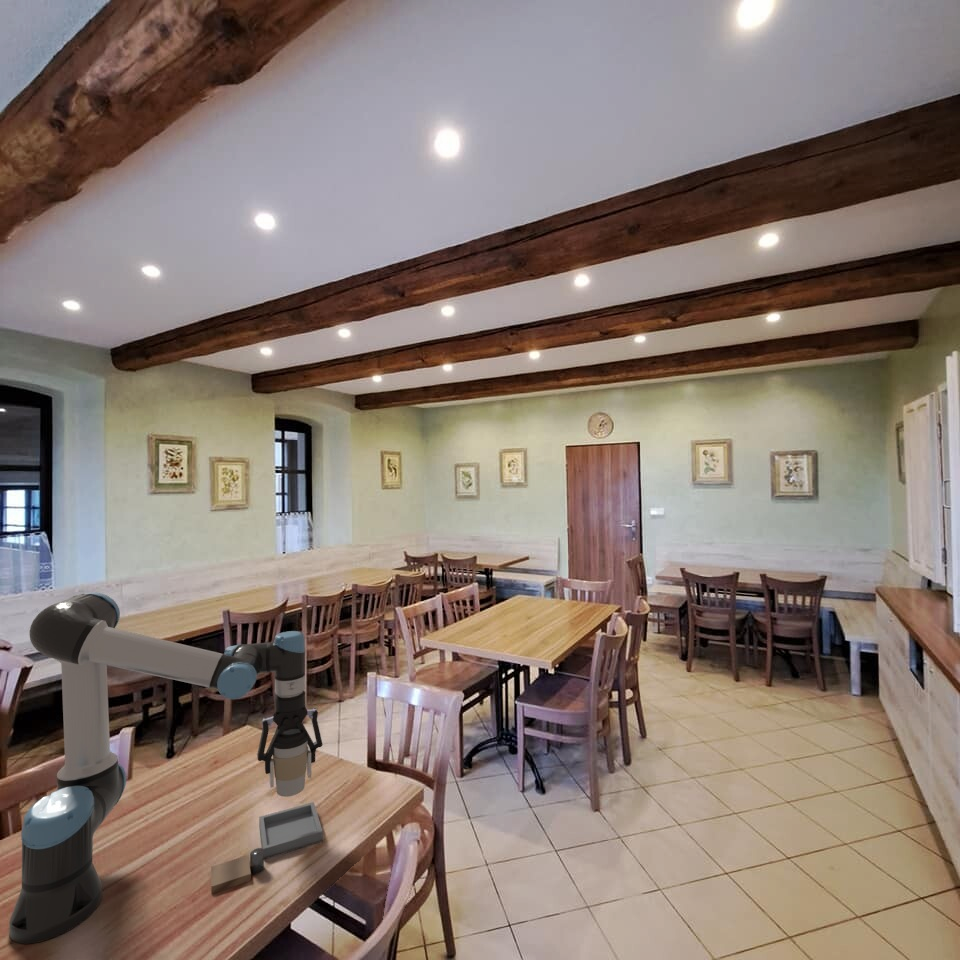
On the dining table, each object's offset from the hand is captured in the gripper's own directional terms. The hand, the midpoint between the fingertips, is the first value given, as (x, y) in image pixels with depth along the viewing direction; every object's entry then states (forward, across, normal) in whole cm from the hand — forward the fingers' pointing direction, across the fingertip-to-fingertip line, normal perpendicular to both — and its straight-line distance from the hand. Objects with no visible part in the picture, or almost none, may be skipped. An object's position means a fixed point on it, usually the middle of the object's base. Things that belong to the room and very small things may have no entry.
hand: (290, 779), depth 133 cm
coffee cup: (+3, 0, 0) cm, 3 cm away
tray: (+14, 0, 0) cm, 14 cm away
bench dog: (+14, -9, -10) cm, 19 cm away
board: (+14, -14, -10) cm, 22 cm away
